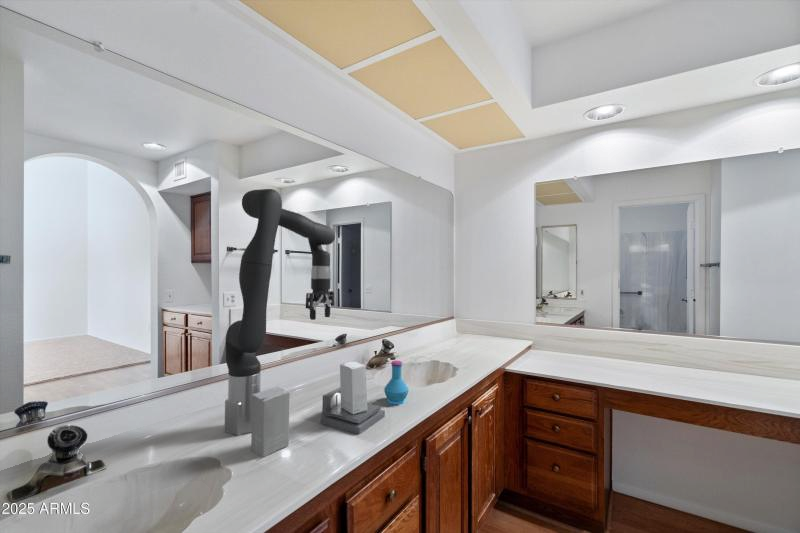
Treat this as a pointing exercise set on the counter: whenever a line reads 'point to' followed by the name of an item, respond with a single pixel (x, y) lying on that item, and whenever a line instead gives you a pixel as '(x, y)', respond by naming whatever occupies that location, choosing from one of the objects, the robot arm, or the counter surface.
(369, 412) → the pan
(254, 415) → the skincare box
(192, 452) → the counter surface
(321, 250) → the robot arm
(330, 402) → the scale base
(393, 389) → the perfume bottle
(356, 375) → the skincare box
